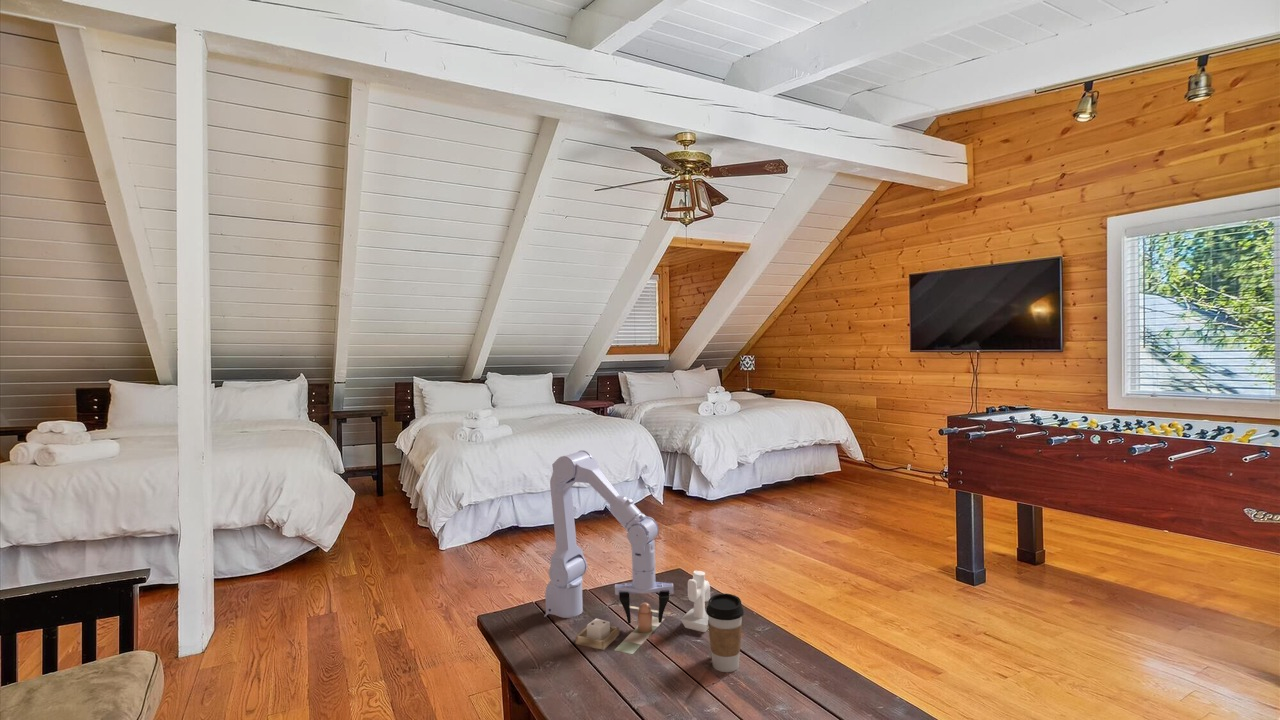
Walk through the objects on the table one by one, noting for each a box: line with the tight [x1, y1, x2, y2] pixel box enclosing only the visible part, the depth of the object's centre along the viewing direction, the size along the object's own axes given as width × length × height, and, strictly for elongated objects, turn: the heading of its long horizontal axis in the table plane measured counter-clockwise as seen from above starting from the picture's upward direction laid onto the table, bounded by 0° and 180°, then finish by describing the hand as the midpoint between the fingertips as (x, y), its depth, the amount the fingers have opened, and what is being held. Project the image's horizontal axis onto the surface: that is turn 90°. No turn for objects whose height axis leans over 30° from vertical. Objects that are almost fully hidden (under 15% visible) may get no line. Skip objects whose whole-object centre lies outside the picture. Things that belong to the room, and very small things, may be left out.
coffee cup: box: [705, 593, 744, 673], centre depth 148 cm, size 8×8×15 cm
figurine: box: [680, 570, 711, 633], centre depth 165 cm, size 7×9×15 cm
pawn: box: [637, 602, 653, 633], centre depth 163 cm, size 4×4×7 cm
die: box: [586, 617, 611, 641], centre depth 159 cm, size 4×4×4 cm
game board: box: [575, 603, 672, 655], centre depth 164 cm, size 15×26×3 cm, turn 156°
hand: (644, 621), depth 164 cm, fingers open, 7 cm apart
